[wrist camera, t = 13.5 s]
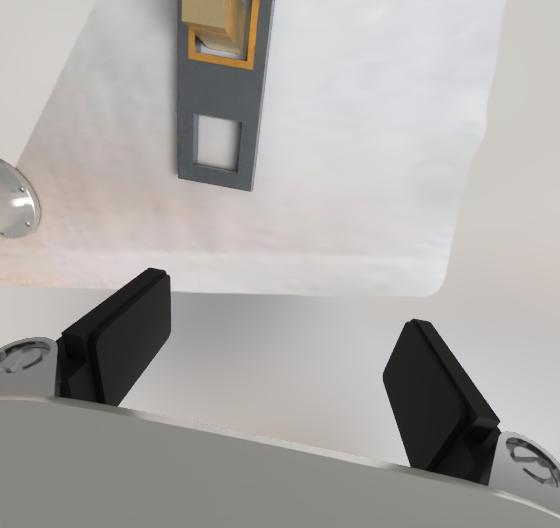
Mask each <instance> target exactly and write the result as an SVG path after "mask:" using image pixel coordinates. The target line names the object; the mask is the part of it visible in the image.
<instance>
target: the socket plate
mask: <svg viewBox="0 0 560 528" xmlns="http://www.w3.org/2000/svg"><path fill="white" fill-rule="evenodd" d="M274 3H275V0H252V11H251V23H250V34H249V45H248V56H247V61H243V60H237V59H231V58H225V57H220V56H214V55H208V54H202V53H200V47H201V40H200V39H199V38H198V37H197V36H196V35H195V34H194V33H193V32H192V31H191V30H190V29H189V28H188V27H187V26H186V25H185V24H184V23H183V22H182V0H178V178H180V179H185V180H191V181H196V182H201V183H207V184H212V185H218V186H223V187H228V188H234V189H239V190H245V191H250V192H251V191H252V190H253V184H254V175H255V167H256V158H257V150H258V141H259V132H260V124H261V115H262V107H263V98H264V89H265V81H266V72H267V64H268V55H269V46H270V38H271V29H272V21H273V12H274ZM199 115H202V116H208V117H213V118H219V119H225V120H230V121H236V122H241V123H242V128H241V139H240V150H239V161H238V172H235V171H229V170H224V169H219V168H213V167H208V166H202V165H197V155H198V119H199Z"/></svg>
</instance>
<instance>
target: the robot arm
mask: <svg viewBox="0 0 560 528" xmlns="http://www.w3.org/2000/svg"><path fill="white" fill-rule="evenodd" d="M39 220H40V207H39V203H38V200H37V197H36V195H35V193H34V191H33V189H32V187H31V186H30V184H29V183H28V182H27V180H26V179H25V178H24V177H23V176H22V175H21V174H20V173H19V172H18V171H17V170H16V169H15V168H14V167H12V166H11V165H10V164H8V163H6V162H5V161H3V160H2V159H0V236H1V237H6V238H20V237H23V236H26V235H29V234H30V233H32V232H33V231H34V230H35V229H36V228H37V226H38V224H39ZM170 295H171V294H170V276H169V275H167V274H166V271H165V270H160V269H155V268H148V269H146V270H145V271H144V272H142V273H141V274H140V275H138V276H137V277H136V278H134V279H133V280H132V281H130V282H129V283H128V284H126V285H125V286H124V287H122V288H121V289H120V290H118V291H117V292H116V293H114V294H113V295H111V296H110V297H109V298H107V299H106V300H105V301H103V302H102V303H101V304H99V305H98V306H97V307H95V308H94V309H93V310H91V311H90V312H89V313H87V314H86V315H85V316H83V317H82V318H81V319H79V320H78V321H77V322H75V323H74V324H72V325H71V326H70V327H68V328H67V329H66V330H64V331H63V332H62V337H60V338H59V339H58V340H56V341H54V340H52V339H49V338H45V337H34V338H26V339H23V340H19V341H15V342H12V343H10V344H8V345H5V346H3V347H1V348H0V528H560V464H559V463H558V461H557V460H556V459H555V458H554V457H553V456H552V455H551V454H549V453H548V452H547V451H546V450H545V449H544V448H542V447H541V446H539V445H538V444H537V443H535V442H534V441H532V440H530V439H528V438H527V437H525V436H522V435H520V434H517V433H515V432H503V433H501V431H500V430H499V428H498V427H497V425H498V424H499V423H500V420H499V419H498V417H497V416H496V414H495V413H494V411H493V410H492V409H491V407H490V406H489V404H488V403H487V402H486V400H485V399H484V397H483V396H482V394H481V393H480V392H479V390H478V389H477V387H476V386H475V385H474V383H473V382H472V380H471V379H470V377H469V376H468V375H467V373H466V372H465V371H464V369H463V368H462V366H461V365H460V363H459V362H458V361H457V359H456V358H455V356H454V355H453V353H452V352H451V351H450V349H449V348H448V346H447V345H446V344H445V342H444V341H443V339H442V338H441V336H440V335H439V334H438V332H437V331H436V329H435V328H434V327H433V325H432V324H431V323H430V322H428V321H423V320H418V319H412V320H411V321H410V322H406V323H405V325H404V328H403V330H402V332H401V334H400V337H399V339H398V341H397V343H396V345H395V348H394V350H393V352H392V354H391V356H390V359H389V361H388V363H387V365H386V367H385V370H384V372H383V382H384V385H385V389H386V391H387V395H388V398H389V401H390V404H391V407H392V410H393V413H394V416H395V420H396V422H397V425H398V429H399V432H400V435H401V438H402V441H403V444H404V447H405V450H406V454H407V457H408V460H409V463H410V466H411V467H407V466H402V465H398V464H393V463H388V462H383V461H379V460H374V459H370V458H365V457H360V456H356V455H351V454H346V453H341V452H336V451H332V450H327V449H323V448H318V447H313V446H308V445H304V444H299V443H294V442H289V441H284V440H280V439H275V438H270V437H265V436H260V435H256V434H251V433H246V432H241V431H236V430H231V429H227V428H222V427H217V426H212V425H207V424H202V423H197V422H192V421H187V420H182V419H177V418H172V417H167V416H162V415H157V414H152V413H147V412H142V411H137V410H132V409H127V408H121V407H118V405H119V404H120V402H121V401H122V399H124V397H125V396H126V395H127V393H128V392H129V390H130V389H131V388H132V386H133V385H134V383H135V382H136V381H137V380H138V378H139V377H140V376H141V374H142V373H143V371H144V370H145V369H146V368H147V366H148V365H149V363H150V362H151V361H152V359H153V358H154V357H155V355H156V354H157V353H158V351H159V350H160V349H161V347H162V346H163V345H164V343H165V342H166V340H167V339H168V338H169V335H170V332H171V296H170Z"/></svg>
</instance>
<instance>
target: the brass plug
mask: <svg viewBox="0 0 560 528" xmlns="http://www.w3.org/2000/svg"><path fill="white" fill-rule="evenodd" d="M245 16H246V8H245V6H244V3H243V1H242V0H182V22H183V23H184V24H185V25H186V26H187V27H188V28H189V29H190V30H191V31H192V32H193V33H194V34H195V35H196V36H197V37H198V38H199V39H200V40H201V41H202V42H203V43H204V44H205V45H206V46H207V47H208V48H211V49H217V50H222V51H228V52H233V53H239V54H242V50H243V39H244V27H245Z"/></svg>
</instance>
